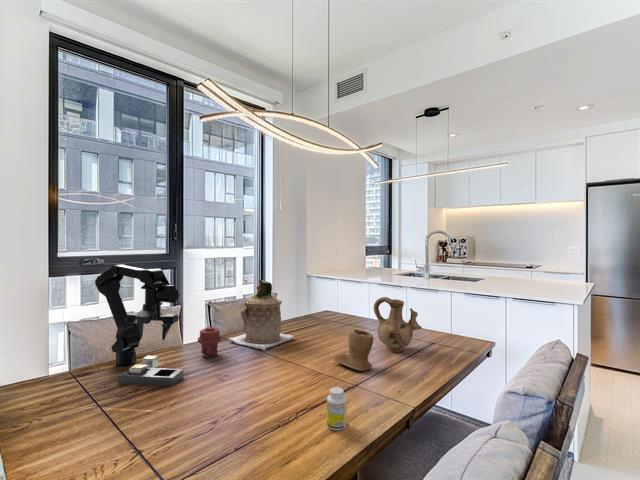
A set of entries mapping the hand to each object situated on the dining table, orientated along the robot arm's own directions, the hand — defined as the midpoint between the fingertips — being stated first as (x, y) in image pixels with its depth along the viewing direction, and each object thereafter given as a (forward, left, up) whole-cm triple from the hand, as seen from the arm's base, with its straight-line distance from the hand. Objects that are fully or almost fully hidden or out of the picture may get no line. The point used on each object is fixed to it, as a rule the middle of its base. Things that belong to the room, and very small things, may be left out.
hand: (152, 339), depth 137 cm
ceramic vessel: (+102, +34, -12) cm, 108 cm away
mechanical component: (+17, +18, -12) cm, 27 cm away
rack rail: (+7, -11, -12) cm, 18 cm away
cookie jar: (+35, +42, -12) cm, 55 cm away
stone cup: (+82, +12, -12) cm, 83 cm away
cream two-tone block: (0, 0, -12) cm, 12 cm away
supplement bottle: (+75, -34, -12) cm, 83 cm away
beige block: (+2, -11, -11) cm, 16 cm away
